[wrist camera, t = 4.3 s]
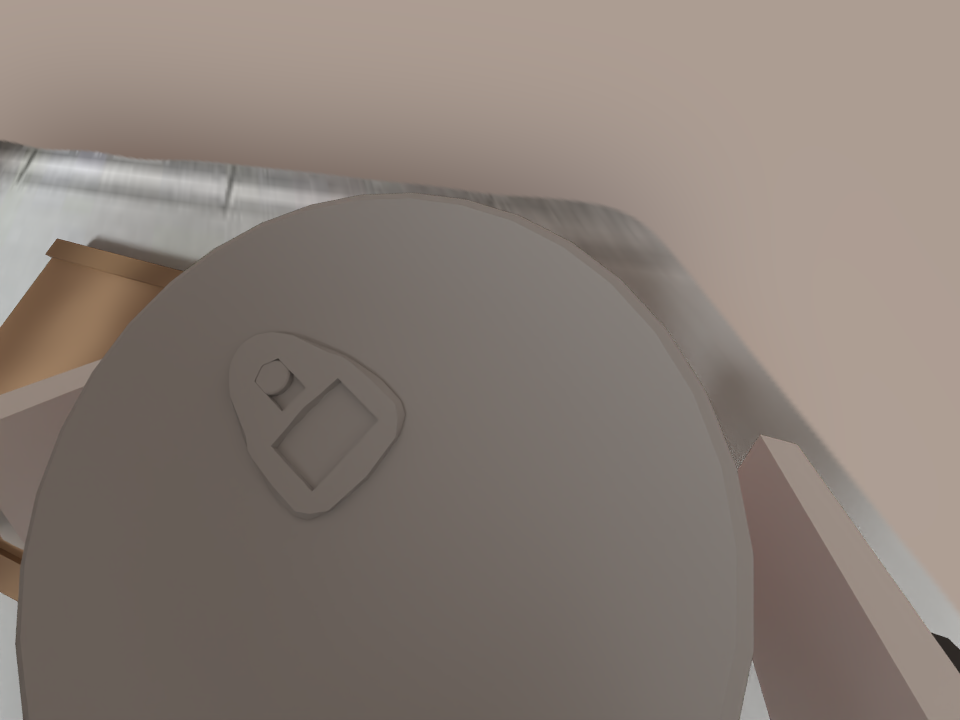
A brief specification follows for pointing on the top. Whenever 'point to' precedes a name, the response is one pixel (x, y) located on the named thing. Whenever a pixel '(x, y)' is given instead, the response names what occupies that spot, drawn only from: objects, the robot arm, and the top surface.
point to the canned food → (389, 491)
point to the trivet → (70, 329)
